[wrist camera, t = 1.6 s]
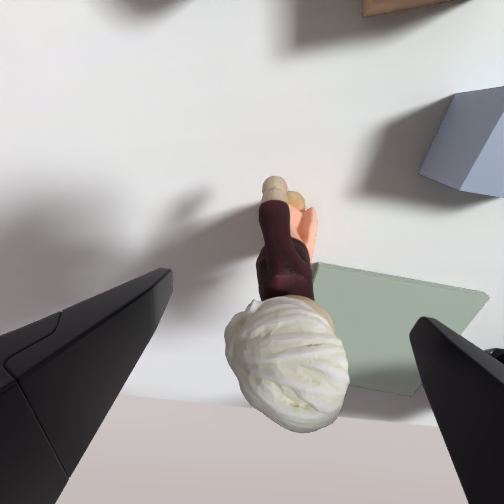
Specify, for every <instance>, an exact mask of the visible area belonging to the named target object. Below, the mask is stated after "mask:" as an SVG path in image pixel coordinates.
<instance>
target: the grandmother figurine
mask: <svg viewBox="0 0 504 504" xmlns="http://www.w3.org/2000/svg"><path fill="white" fill-rule="evenodd" d="M262 193H263V196H262V200H261V206H260V207H259V223H260V226H261V229H262V232H263V237H264V241H265V245H264V247H263V248H262V250H261V252H260V254H259V256H258V258H257V261H256V270H257V278H258V284H259V294H260V298H261V301H262V302H259V301H255V299H253V300H252V302H251V303H250V304H249V305H248V306H247V308H246V310H245V311H243V312H240V313H237V314H236V315H235V316H234V317H233V318H232V319H231V321H230V322H229V324H228V325H227V327H226V329H225V333H224V338H225V343H226V348H225V355H226V358H227V361H228V363H229V365H230V367H231V369H232V370H233V372H234V374H235V375H236V377H237V379H238V381H239V385H240V389H241V391H242V393H243V395H244V397H245V398H246V400H247V401H248V402H249V403H250V405H252V406H253V407H254V408H256V409H257V410H259V411H260V412H262V413H263V414H264V415H266V416H267V417H268V418H270V419H271V420H273V421H274V422H276V423H277V424H279V425H280V426H282V427H284V428H286V429H288V430H290V431H293V432H297V433H310V432H314V431H317V430H318V429H320V428H323V427H326V426H328V425H330V424H332V423H333V422H334V421H335V420H336V419H337V417H338V415H339V413H340V411H341V408H342V405H343V403H344V396H345V394H346V391H347V388H348V385H349V382H350V381H349V375H348V362H347V358H346V354H345V350H344V348H343V345H342V341H341V340H340V339H339V338H337V332H336V328H335V325H334V323H333V321H332V319H331V317H330V316H329V315H328V313H327V312H326V311H325V309H324V308H323V307H322V306H320V305H319V304H318V303H317V302H315V299H314V292H313V282H312V272H311V264H312V257H313V253H314V248H315V241H316V235H317V214H316V211H315V209H313V208H309V209H307V210H306V211H305V201H304V198H303V197H302V196H301V194H299V193H298V192H294V191H289V192H287V184H286V182H285V180H284V179H283V178H281V177H279V176H271V177H269V178H267V179H266V180H265V182H264V183H263V187H262Z"/></svg>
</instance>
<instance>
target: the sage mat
mask: <svg viewBox="0 0 504 504" xmlns="http://www.w3.org/2000/svg"><path fill="white" fill-rule="evenodd" d="M312 282H313V292H314V299H315V302H317V303H318V304H319V305H320V306H322V307H323V308H324V309H325V311H326V312H327V313H328V315H329V316H330V317H331V319H332V321H333V323H334V325H335V328H336V332H337V338H339V339H340V340H341V341H342V345H343V348H344V350H345V354H346V358H347V362H348V375H349V381H350V382H349V385H352V386H357V387H363V388H368V389H373V390H378V391H383V392H389V393H394V394H399V395H404V396H409V397H411V396H412V395H413V394H414V393H415V391H416V390H417V389H418V388H419V386H420V385H421V384H422V382H421V379H420V375H419V372H418V368H417V365H416V361H415V358H414V354H413V350H412V347H411V343H410V340H409V334H410V331H411V330H412V328H413V326H414V325H415V323H416V322H417V320H418V319H419V318H420V317H422V316H426V317H431V318H435V319H437V320H438V321H440V322H441V323H443V324H444V325H446V326H447V327H449V328H450V329H452V330H453V331H455V332H456V333H458V334H459V335H461V334H462V332H463V331H464V330H465V329H466V327H467V326H468V325H469V323H470V322H471V321H472V320H473V318H474V317H475V316H476V315H477V313H478V312H479V311H480V310H481V308H482V307H483V306H484V305H485V303H486V302H487V301H488V300H489V298H490V297H489V296H488V295H487V294H486V293H484V292H480V291H475V290H469V289H464V288H458V287H453V286H447V285H442V284H436V283H430V282H425V281H419V280H414V279H408V278H403V277H397V276H392V275H386V274H380V273H375V272H369V271H364V270H358V269H353V268H347V267H342V266H336V265H330V264H325V263H319V262H318V264H317V267H316V270H315V273H314V276H313V279H312Z"/></svg>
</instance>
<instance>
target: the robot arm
mask: <svg viewBox="0 0 504 504" xmlns="http://www.w3.org/2000/svg"><path fill="white" fill-rule="evenodd" d="M172 291H173V272H172V270H171V269H166V268H158V269H156V270H154V271H152V272H149V273H147V274H145V275H142V276H140V277H138V278H135V279H133V280H131V281H129V282H126V283H124V284H122V285H119V286H117V287H115V288H112V289H110V290H108V291H106V292H103V293H101V294H99V295H96V296H94V297H92V298H89V299H87V300H85V301H82V302H80V303H78V304H76V305H73V306H71V307H69V308H66V309H64V310H62V312H57V313H55V314H52V315H50V316H48V317H45V318H43V319H41V320H38V321H36V322H33V323H31V324H29V325H26V326H24V327H21V328H19V329H16V330H14V331H11V332H8V333H6V334H3V335H0V504H55V503H56V501H57V499H58V498H59V496H60V494H61V492H62V491H63V489H64V487H65V485H66V484H67V482H68V480H69V477H70V476H71V475H72V473H73V471H74V470H75V468H76V466H77V465H78V463H79V461H80V459H81V458H82V456H83V454H84V453H85V451H86V449H87V447H88V446H89V444H90V442H91V440H92V439H93V437H94V435H95V434H96V432H97V430H98V428H99V427H100V425H101V423H102V422H103V420H104V418H105V416H106V415H107V413H108V411H109V409H110V408H111V406H112V404H113V403H114V401H115V399H116V397H117V396H118V394H119V392H120V391H121V389H122V387H123V386H124V384H125V382H126V380H127V379H128V377H129V375H130V373H131V372H132V370H133V368H134V367H135V365H136V363H137V361H138V360H139V358H140V356H141V355H142V353H143V351H144V349H145V348H146V346H147V344H148V343H149V341H150V339H151V337H152V336H153V334H154V332H155V330H156V328H157V326H158V324H159V322H160V319H161V317H162V315H163V313H164V310H165V308H166V306H167V303H168V301H169V299H170V296H171V294H172ZM409 340H410V343H411V347H412V350H413V354H414V358H415V361H416V365H417V368H418V372H419V375H420V379H421V382H422V384H423V387H424V390H425V392H426V395H427V398H428V400H429V403H430V405H431V408H432V410H433V413H434V416H435V418H436V421H437V423H438V426H439V428H440V431H441V434H442V436H443V439H444V441H445V444H446V446H447V449H448V451H449V454H450V456H451V459H452V462H453V464H454V467H455V469H456V472H457V475H458V477H459V480H460V482H461V485H462V487H463V490H464V493H465V495H466V498H467V500H468V503H469V504H504V350H497V351H495V352H494V353H493V354H492V355H491V356H490V355H489V354H487V353H486V352H484V351H483V350H481V349H480V348H478V347H477V346H475V345H474V344H472V343H471V342H469V341H468V340H466V339H465V338H463V337H462V336H461V335H459V334H458V333H456V332H455V331H453V330H452V329H450V328H449V327H447V326H446V325H444V324H443V323H441V322H440V321H438V320H437V319H435V318H431V317H426V316H422V317H420V318H419V319H418V320H417V322H416V323H415V325H414V326H413V328H412V330H411V331H410V334H409Z"/></svg>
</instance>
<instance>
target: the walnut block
mask: <svg viewBox="0 0 504 504" xmlns="http://www.w3.org/2000/svg"><path fill="white" fill-rule="evenodd" d="M448 1H453V0H363V12H362V17H367V16H373V15H378V14H383V13H389V12H394V11H399V10H405V9H410V8H415V7H421V6H426V5H431V4H437V3H442V2H448Z"/></svg>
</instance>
